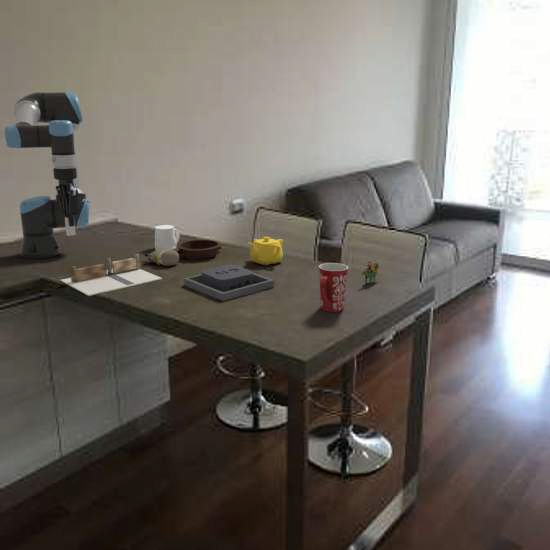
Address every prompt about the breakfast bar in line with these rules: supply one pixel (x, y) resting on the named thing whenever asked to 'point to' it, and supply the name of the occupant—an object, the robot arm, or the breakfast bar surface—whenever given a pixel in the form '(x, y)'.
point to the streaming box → (227, 277)
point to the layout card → (112, 281)
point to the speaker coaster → (261, 285)
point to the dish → (198, 249)
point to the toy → (164, 257)
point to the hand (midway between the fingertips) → (71, 234)
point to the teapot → (266, 250)
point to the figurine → (370, 272)
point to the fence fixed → (123, 265)
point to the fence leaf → (87, 272)
